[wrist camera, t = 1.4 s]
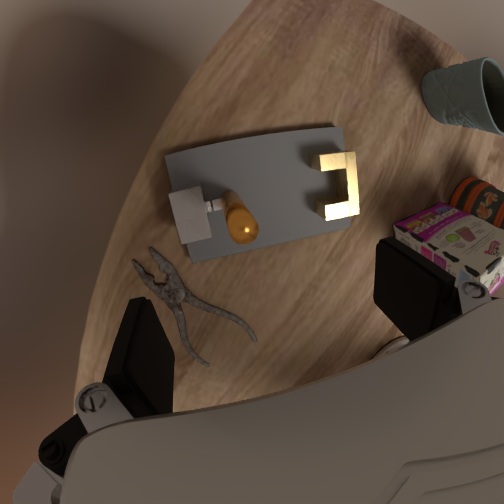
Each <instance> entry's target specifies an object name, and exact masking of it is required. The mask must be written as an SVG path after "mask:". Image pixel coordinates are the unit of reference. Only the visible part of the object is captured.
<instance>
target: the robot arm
mask: <svg viewBox="0 0 504 504" xmlns="http://www.w3.org/2000/svg"><path fill="white" fill-rule="evenodd" d="M455 281H456V277H454V276H453V275H451V274H450V273H448V272H447V271H446V270H444V269H443V268H441V267H440V266H438V265H437V264H435V263H434V262H432V261H431V260H429V259H428V258H426V257H424V256H423V255H421V254H420V253H418V252H417V251H415V250H414V249H412V248H410V247H409V246H407V245H406V244H404V243H402V242H401V241H399V240H397V239H396V238H394V237H388V238H384V239H381V240H380V241H379V243H378V244H377V246H376V263H375V281H374V294H373V299H374V302H375V304H376V305H377V306H378V307H379V308H380V309H381V310H382V311H383V312H384V314H385V315H386V316H387V317H388V318H389V319H390V320H391V321H392V322H393V323H394V324H395V325H396V326H397V327H398V329H399V330H400V331H401V332H402V333H403V334H404V335H405V336H406V337H401V338H398V339H396V340H394V341H392V342H391V343H389V344H388V345H386V346H385V347H384V348H382V349H381V350H380V351H379V352H378V353H377V354H376V355H375V356H374V358H373V359H372V360H369V361H367V362H364V363H362V364H359V365H357V366H354V367H352V368H349V369H347V370H344V371H341V372H338V373H336V374H333V375H330V376H327V377H324V378H321V379H318V380H315V381H312V382H309V383H306V384H303V385H299V386H296V387H293V388H289V389H286V390H282V391H279V392H275V393H271V394H267V395H263V396H259V397H255V398H251V399H247V400H242V401H238V402H233V403H228V404H223V405H217V406H212V407H207V408H201V409H195V410H189V411H182V412H175V413H173V382H174V361H175V356H174V351H173V349H172V346H171V344H170V342H169V340H168V338H167V336H166V334H165V332H164V329H163V327H162V325H161V323H160V321H159V318H158V316H157V314H156V311H155V309H154V307H153V304H152V302H151V300H150V299H147V300H146V298H145V297H138V298H134V299H130V300H129V303H128V305H127V308H126V311H125V314H124V316H123V319H122V322H121V325H120V328H119V331H118V334H117V337H116V339H115V342H114V345H113V348H112V351H111V354H110V357H109V361H108V364H107V367H106V371H105V374H104V378H103V381H102V383H101V382H96V383H92V384H89V385H87V386H85V387H84V388H83V389H82V390H81V391H80V392H79V393H78V395H77V397H76V400H75V408H76V411H77V414H76V415H74V416H73V417H72V418H70V419H69V420H68V421H67V422H65V423H64V424H63V425H62V426H60V427H59V428H58V429H56V430H55V431H54V432H52V433H51V434H50V435H49V436H47V437H46V438H45V439H44V440H43V441H42V443H41V445H40V447H39V459H40V462H39V463H38V462H36V461H35V462H34V463H33V465H32V466H31V467H30V469H29V470H28V471H27V473H26V474H25V476H24V477H23V478H22V480H21V481H20V483H19V484H18V486H17V487H16V489H15V490H14V492H13V498H12V500H13V504H504V298H495V297H491V296H490V293H489V290H488V289H487V287H486V286H485V285H484V284H482V283H480V282H478V281H476V280H463V281H461V282H460V283H459V284H458V287H455V286H454V285H455Z"/></svg>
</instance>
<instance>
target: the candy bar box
mask: <svg viewBox="0 0 504 504" xmlns="http://www.w3.org/2000/svg"><path fill="white" fill-rule="evenodd" d="M393 230H394V238H396V239H397V240H399V241H401V242H402V243H404V244H406V245H407V246H409V247H410V248H412V249H414V250H415V251H417V252H418V253H420V254H421V255H423V256H424V257H426V258H428V259H429V260H431V261H432V262H434V263H435V264H437V265H438V266H440V267H441V268H443V269H444V270H446V271H447V272H448V273H450V274H451V275H453V276H454V277H456V281H455V285H454V286H455V287H458V284H459V283H460V282H461V281H463V280H476V281H478V282H480V283H482V284H484V285H485V286H486V287H487V289H488V290H489V293H490V295H491V294H492V293H493V292H494V291H495V290H496V289H497V288H498V287H499V286H500V285H501V284H502V283H503V282H504V230H503V229H501V228H499V227H497V226H495V225H493V224H491V223H489V222H487V221H485V220H482V219H480V218H478V217H476V216H474V215H471V214H469V213H466V212H464V211H462V210H460V209H457V208H455V207H452V206H450V205H447V204H445V203H442V202H440V203H438V204H435V205H433V206H431V207H429V208H427V209H425V210H423V211H421V212H419V213H417V214H415V215H413V216H410V217H408V218H406V219H404V220H402V221H400V222H397V223H395V224H393Z"/></svg>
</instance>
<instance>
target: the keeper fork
mask: <svg viewBox="0 0 504 504" xmlns="http://www.w3.org/2000/svg"><path fill="white" fill-rule="evenodd" d="M308 156H309V163H310V168H311V169H315V170H318V171H328V170H334V176H335V187H336V196H330V197H324V198H319V199H314V205H315V213H316V214H317V215H319V216H320V217H322V218H323V219H325V220H326V221H327V220H332V219H337V218H342V217H346V216H351V215H356V214H359V198H358V182H357V170H356V159H355V151H346V150H336V151H327V152H318V153H310V154H308Z"/></svg>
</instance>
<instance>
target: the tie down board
mask: <svg viewBox="0 0 504 504" xmlns="http://www.w3.org/2000/svg"><path fill="white" fill-rule="evenodd" d="M336 150H345V146H344V138H343V130H342V127H328V128H316V129H305V130H296V131H288V132H280V133H272V134H265V135H259V136H253V137H247V138H241V139H235V140H230V141H225V142H220V143H215V144H210V145H205V146H201V147H197V148H192V149H188V150H184V151H180V152H176V153H172V154H168V155H164V156H165V161H166V165H167V169H168V174H169V178H170V182H171V187H172V189H173V188H177V187H181V186H185V185H189V184H193V183H197V182H201V185H202V189H203V198H204V201H205V200H209V199H210V203H211V208H212V212H208V213H207V215H208V217H209V220H210V225H211V230H212V237H211V238H207V239H203V240H199V241H194V242H190V243H186V244H187V248H188V252H189V255H190V259H191V262H192V264H193V263H197V262H202V261H206V260H210V259H215V258H219V257H223V256H228V255H232V254H237V253H241V252H245V251H250V250H254V249H258V248H263V247H267V246H272V245H276V244H280V243H285V242H289V241H293V240H298V239H302V238H307V237H311V236H315V235H320V234H324V233H329V232H333V231H337V230H342V229H346V228H351V218H350V216H346V217H342V218H337V219H332V220H327V221H326V220H325V219H323V218H322V217H320V216H319V215H317V214H316V213H315V205H314V199H319V198H324V197H330V196H336V187H335V176H334V170H328V171H318V170H315V169H311V168H310V163H309V156H308V154H310V153H318V152H327V151H336ZM226 191H234V192H236V193H237V194H238V195H239V197H240V198H241V200H242V201H243V202H244V204H245V205H246V207H247V208H248V210H249V211H250V213H251V214H252V216H253V217H254V219H255V220H256V222H257V224H258V226H259V233H258V236H257V238H256V239H255V240H254V241H253V242H251V243H249V244H245V245H241V244H238V243H236V242H234V241H233V240H232V239H231V237H230V234H229V231H228V227H227V224H226V220H225V217H224V213H223V210H222V209H221V210H217V211H214V208H213V203H212V199H213V198H218V197H221V196H222V194H223V193H225V192H226Z"/></svg>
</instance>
